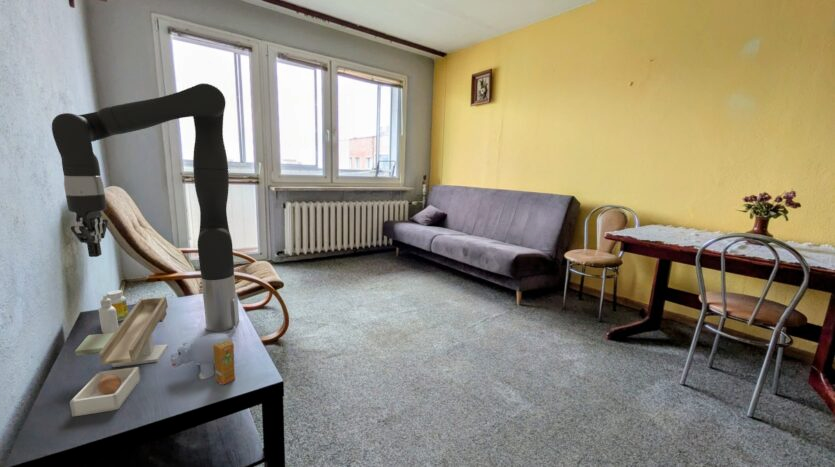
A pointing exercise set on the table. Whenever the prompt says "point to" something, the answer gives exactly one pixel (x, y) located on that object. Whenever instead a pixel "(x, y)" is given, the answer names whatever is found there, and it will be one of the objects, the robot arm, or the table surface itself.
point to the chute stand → (147, 354)
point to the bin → (97, 402)
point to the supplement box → (224, 362)
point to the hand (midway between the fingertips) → (95, 256)
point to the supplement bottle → (118, 304)
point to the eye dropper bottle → (108, 316)
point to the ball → (109, 384)
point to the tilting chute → (127, 333)
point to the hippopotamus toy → (201, 353)
